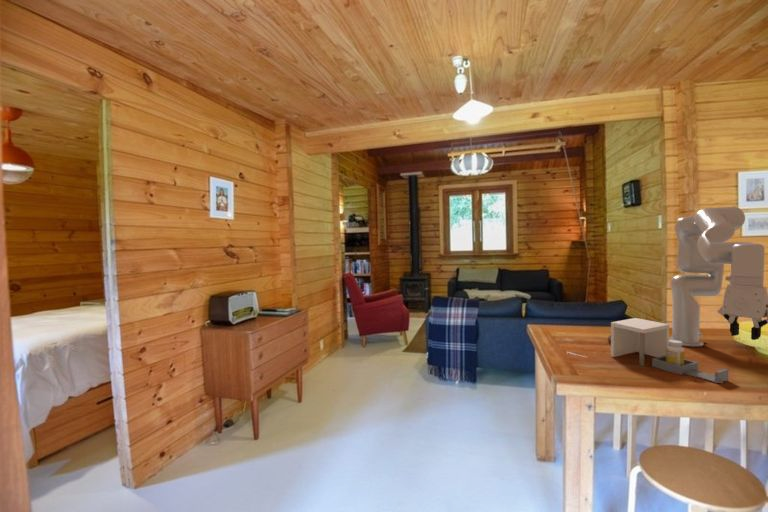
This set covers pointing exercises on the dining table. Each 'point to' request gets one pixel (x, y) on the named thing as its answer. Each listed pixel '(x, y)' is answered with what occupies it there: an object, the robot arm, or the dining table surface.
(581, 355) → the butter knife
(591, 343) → the dining table surface
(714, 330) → the dining table surface
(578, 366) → the dining table surface
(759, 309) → the robot arm
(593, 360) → the dining table surface
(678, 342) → the supplement bottle
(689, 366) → the tray
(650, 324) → the counter
